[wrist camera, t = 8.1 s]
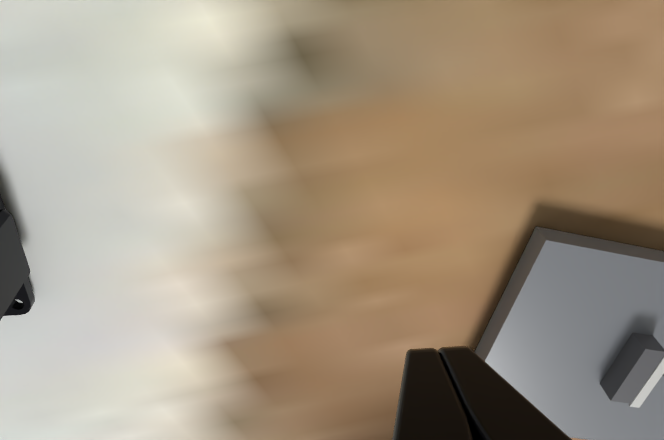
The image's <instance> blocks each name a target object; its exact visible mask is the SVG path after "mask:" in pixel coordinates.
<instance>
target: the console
mask: <svg viewBox="0 0 664 440" xmlns="http://www.w3.org/2000/svg"><path fill="white" fill-rule="evenodd" d="M475 353H476V354H477V355H478V356H479V357H480V358H482V359H483V360H484V361H485V362H486V363H487V364H488V365H489V366H490V367H492V368H493V369H494V370H495V371H496V372H497V373H498V374H499V375H500V376H502V377H503V378H504V379H505V380H506V381H507V382H508V383H509V384H510V385H512V386H513V387H514V388H515V389H516V390H517V391H518V392H519V393H520V394H522V395H523V396H524V397H525V398H526V399H527V400H528V401H529V402H531V403H532V404H533V405H534V406H535V407H536V408H537V409H538V410H539V411H541V412H542V413H543V414H544V415H545V416H546V417H547V418H548V419H549V420H551V421H552V422H553V423H554V424H555V425H556V426H557V427H558V428H559V429H561V430H562V431H563V432H564V433H565V434H566V435H567V436H568V437H571V438H579V439H588V440H664V251H660V250H655V249H650V248H645V247H640V246H634V245H629V244H624V243H619V242H614V241H609V240H603V239H598V238H593V237H588V236H583V235H578V234H573V233H567V232H562V231H557V230H552V229H547V228H542V227H535V229H534V231H533V234H532V236H531V238H530V240H529V242H528V244H527V246H526V248H525V250H524V252H523V254H522V256H521V258H520V260H519V262H518V264H517V266H516V268H515V270H514V272H513V274H512V276H511V278H510V281H509V283H508V285H507V287H506V289H505V291H504V293H503V295H502V297H501V299H500V301H499V303H498V305H497V307H496V309H495V311H494V313H493V315H492V317H491V319H490V321H489V323H488V325H487V327H486V330H485V332H484V334H483V336H482V338H481V340H480V342H479V344H478V346H477V348H476V350H475Z"/></svg>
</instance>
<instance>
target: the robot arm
mask: <svg viewBox="0 0 664 440" xmlns="http://www.w3.org/2000/svg"><path fill="white" fill-rule="evenodd" d="M29 274H30V269H29V266H28V262H27V259H26V256H25V253H24V250H23V247H22V244H21V241H20V238H19V235H18V232H17V229H16V226H15V223H14V220H13V217H12V215H11V214H10V213H9V212H8V211H7V210H5V207H4V204H3V201H2V198H1V195H0V320H1V318H2V317H3V316H8V315H22V314H26V313H27V312H29V311H30V309H31V307H32V305H33V304H34V302H35V297H34V294H33V291H32V288H31V285H30V282H29V279H28V275H29ZM15 299H19V300H21V301H22V302H23V303H19V302H17V301H16V300H15ZM392 440H572V439H571V438H569V437H568V436H567V435H566V434H565V433H564V432H563V431H562V430H561V429H559V428H558V427H557V426H556V425H555V424H554V423H553V422H552V421H551V420H549V419H548V418H547V417H546V416H545V415H544V414H543V413H542V412H541V411H539V410H538V409H537V408H536V407H535V406H534V405H533V404H532V403H531V402H529V401H528V400H527V399H526V398H525V397H524V396H523V395H522V394H520V393H519V392H518V391H517V390H516V389H515V388H514V387H513V386H512V385H510V384H509V383H508V382H507V381H506V380H505V379H504V378H503V377H502V376H500V375H499V374H498V373H497V372H496V371H495V370H494V369H493V368H492V367H490V366H489V365H488V364H487V363H486V362H485V361H484V360H483V359H482V358H480V357H479V356H478V355H477V354H476V353H475V352H474V351H473V350H471V349H470V348H468V347H466V346H456V347H442V348H440V349H439V350H438V351H437V350H436V349H434V348H423V349H410V350H408V352H407V354H406V358H405V365H404V371H403V377H402V383H401V389H400V395H399V401H398V407H397V413H396V419H395V426H394V432H393V438H392Z"/></svg>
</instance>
